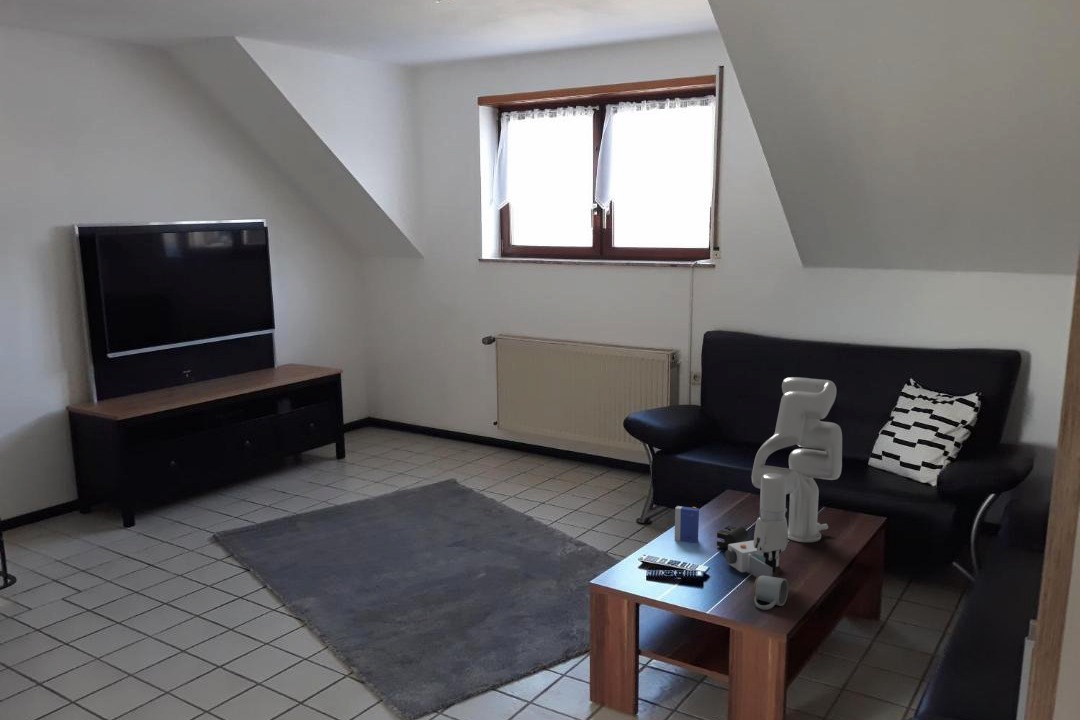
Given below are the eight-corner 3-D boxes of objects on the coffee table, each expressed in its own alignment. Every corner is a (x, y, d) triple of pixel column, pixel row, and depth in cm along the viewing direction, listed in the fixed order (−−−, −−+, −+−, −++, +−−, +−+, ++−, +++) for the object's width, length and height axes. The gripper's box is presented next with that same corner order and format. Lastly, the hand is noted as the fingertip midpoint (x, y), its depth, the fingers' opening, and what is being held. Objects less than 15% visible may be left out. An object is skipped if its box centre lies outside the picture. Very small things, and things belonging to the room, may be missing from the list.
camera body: (763, 557, 284) (764, 536, 282) (778, 566, 276) (779, 545, 275) (723, 564, 278) (723, 543, 277) (737, 573, 271) (738, 552, 269)
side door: (772, 585, 261) (773, 566, 260) (769, 586, 261) (770, 567, 260) (749, 571, 272) (750, 553, 271) (746, 572, 271) (747, 554, 270)
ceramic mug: (761, 593, 256) (762, 569, 255) (788, 600, 251) (789, 575, 250) (747, 607, 247) (748, 581, 246) (775, 614, 243) (776, 588, 241)
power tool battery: (735, 555, 286) (736, 535, 285) (715, 550, 290) (716, 531, 289) (747, 546, 294) (748, 527, 293) (728, 541, 298) (729, 522, 297)
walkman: (698, 540, 299) (699, 507, 297) (696, 543, 296) (697, 509, 294) (676, 537, 302) (676, 504, 300) (674, 540, 299) (674, 507, 297)
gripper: (783, 506, 268) (780, 562, 271) (744, 514, 262) (743, 570, 265) (799, 513, 261) (797, 570, 265) (761, 521, 255) (759, 579, 258)
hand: (770, 570), depth 265 cm, fingers closed
